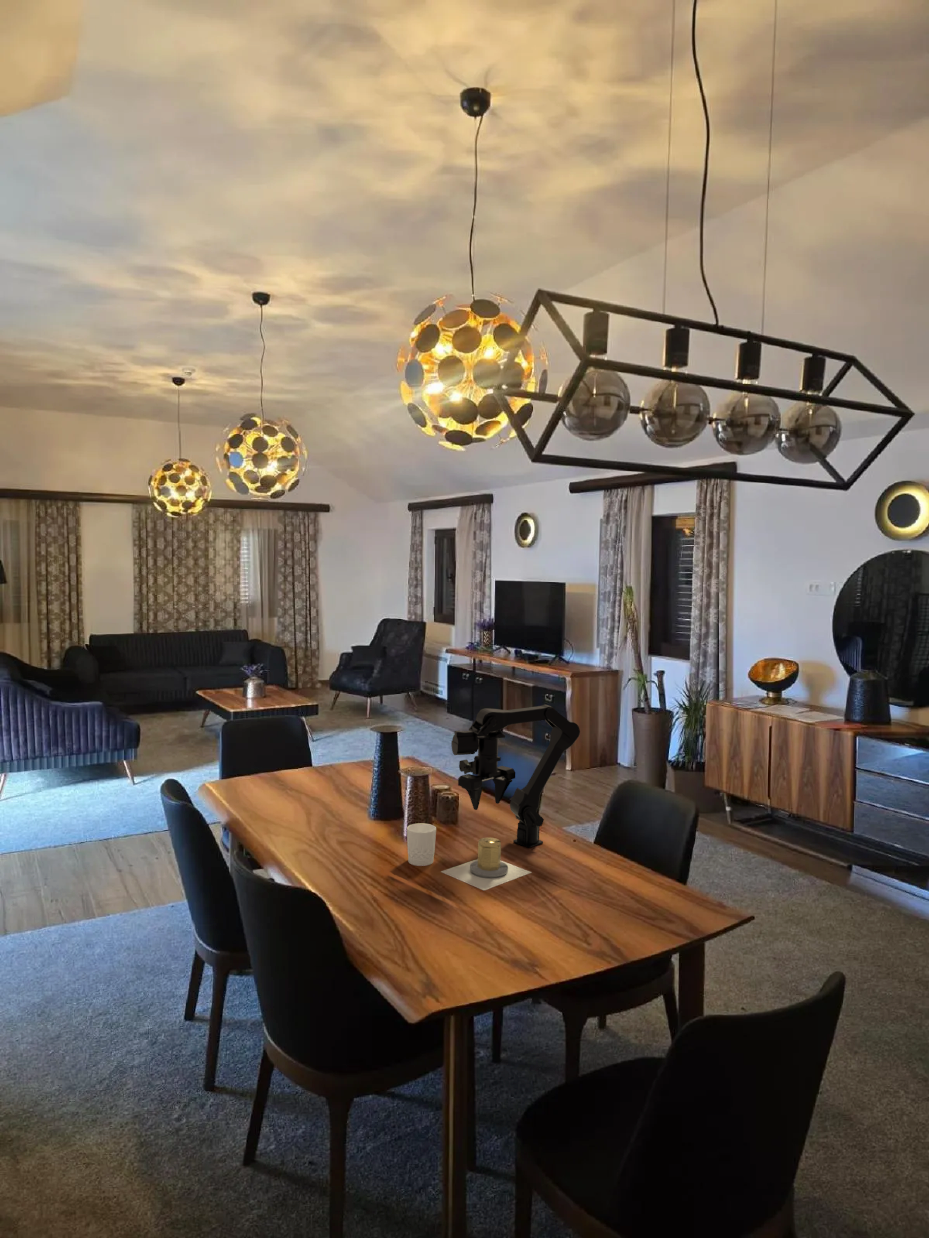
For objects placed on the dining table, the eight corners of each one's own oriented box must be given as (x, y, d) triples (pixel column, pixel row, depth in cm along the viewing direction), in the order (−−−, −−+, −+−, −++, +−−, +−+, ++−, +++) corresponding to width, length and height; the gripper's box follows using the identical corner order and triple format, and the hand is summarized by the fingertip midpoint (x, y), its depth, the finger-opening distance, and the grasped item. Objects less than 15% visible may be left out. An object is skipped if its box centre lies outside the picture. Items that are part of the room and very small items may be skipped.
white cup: (417, 856, 218) (417, 821, 217) (440, 862, 214) (441, 826, 213) (400, 865, 211) (401, 828, 211) (424, 871, 207) (425, 834, 207)
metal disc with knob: (488, 861, 214) (489, 838, 213) (515, 871, 206) (516, 848, 206) (462, 870, 207) (462, 847, 206) (489, 881, 200) (490, 857, 199)
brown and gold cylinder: (475, 868, 205) (475, 843, 204) (481, 861, 210) (482, 836, 210) (496, 871, 203) (497, 846, 202) (502, 864, 208) (503, 839, 208)
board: (488, 858, 218) (488, 855, 218) (531, 875, 206) (531, 872, 206) (440, 874, 205) (440, 871, 205) (483, 893, 194) (484, 890, 194)
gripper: (489, 743, 237) (488, 794, 238) (445, 753, 224) (443, 806, 225) (517, 750, 230) (515, 802, 231) (473, 760, 216) (471, 815, 217)
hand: (486, 806), depth 226 cm, fingers open, 9 cm apart
